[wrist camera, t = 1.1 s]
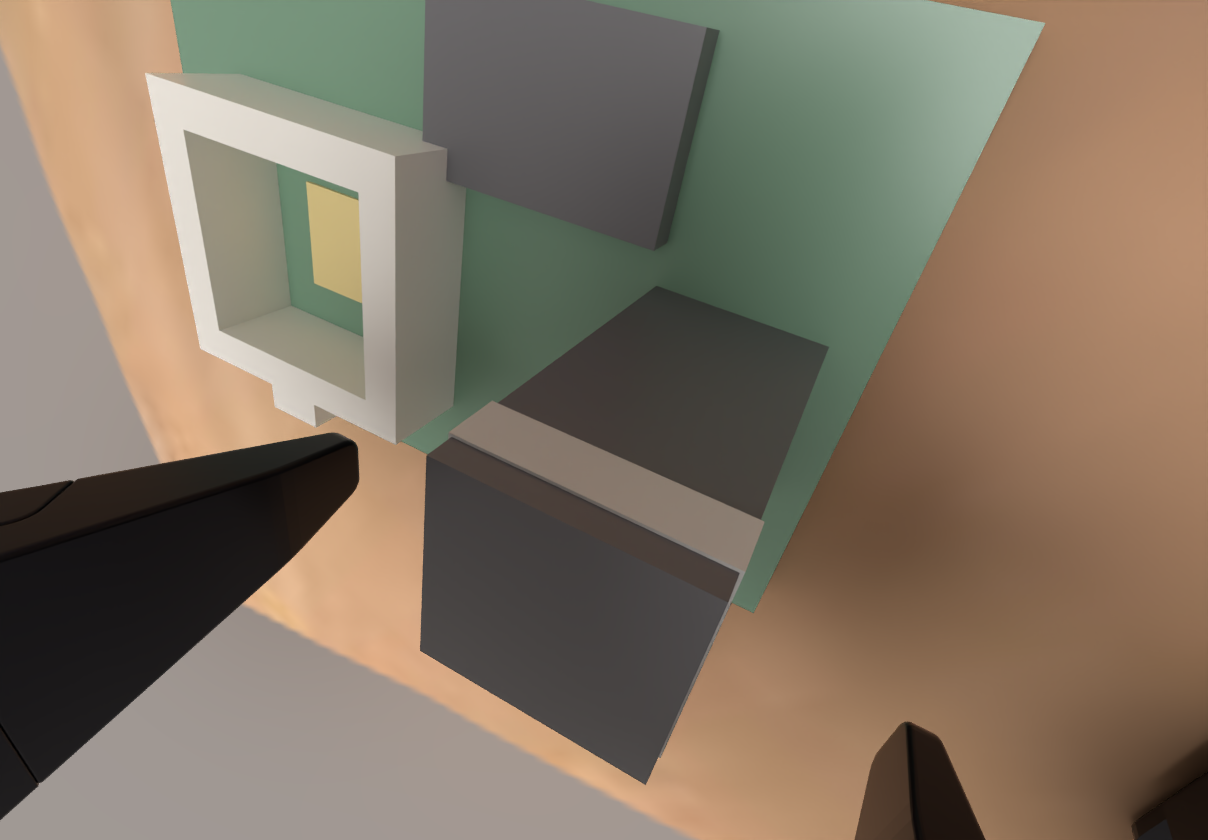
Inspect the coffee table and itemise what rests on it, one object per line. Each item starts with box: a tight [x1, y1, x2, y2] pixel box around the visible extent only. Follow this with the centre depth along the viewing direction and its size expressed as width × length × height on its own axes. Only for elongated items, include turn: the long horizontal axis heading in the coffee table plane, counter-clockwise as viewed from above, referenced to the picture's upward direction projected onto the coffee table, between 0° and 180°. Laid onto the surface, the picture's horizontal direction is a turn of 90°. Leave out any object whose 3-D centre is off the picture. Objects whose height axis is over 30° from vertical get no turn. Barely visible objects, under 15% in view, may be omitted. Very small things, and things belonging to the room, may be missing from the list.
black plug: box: [420, 286, 829, 785], centre depth 11 cm, size 4×4×8 cm
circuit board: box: [145, 0, 1045, 613], centre depth 15 cm, size 20×14×4 cm
